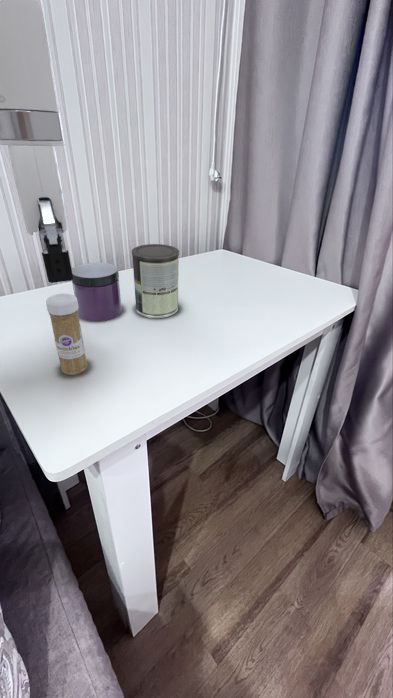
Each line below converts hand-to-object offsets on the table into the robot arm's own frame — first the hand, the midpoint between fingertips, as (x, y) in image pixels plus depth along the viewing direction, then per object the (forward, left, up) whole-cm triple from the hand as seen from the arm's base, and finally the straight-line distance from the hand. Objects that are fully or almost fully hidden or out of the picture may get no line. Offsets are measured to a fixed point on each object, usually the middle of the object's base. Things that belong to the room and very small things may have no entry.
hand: (58, 269), depth 49 cm
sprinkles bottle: (0, 0, -18) cm, 18 cm away
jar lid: (+8, +21, -8) cm, 24 cm away
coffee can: (+21, +18, -18) cm, 33 cm away
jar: (+8, +21, -18) cm, 29 cm away
